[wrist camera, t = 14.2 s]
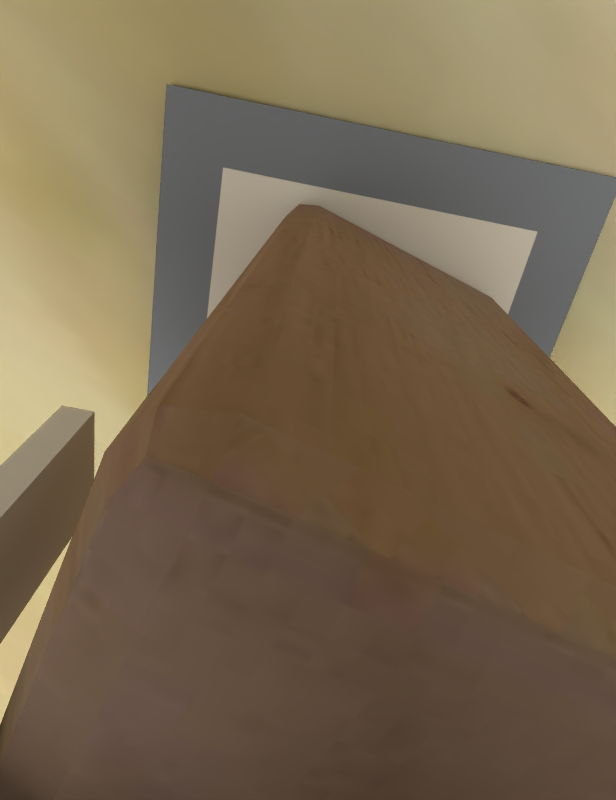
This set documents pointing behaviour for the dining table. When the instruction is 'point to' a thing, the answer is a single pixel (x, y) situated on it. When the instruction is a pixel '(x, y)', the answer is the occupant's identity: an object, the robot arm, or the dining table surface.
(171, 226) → the mat
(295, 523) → the wooden block
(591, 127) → the dining table surface
